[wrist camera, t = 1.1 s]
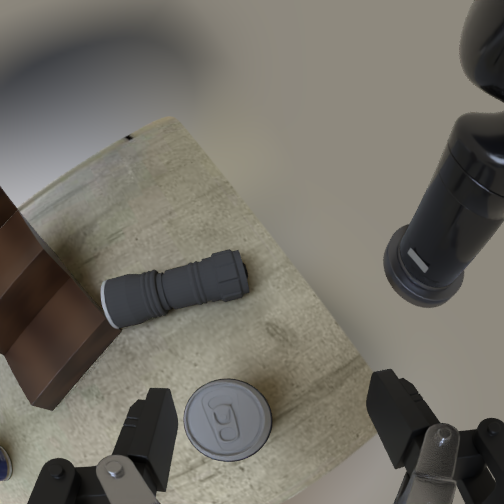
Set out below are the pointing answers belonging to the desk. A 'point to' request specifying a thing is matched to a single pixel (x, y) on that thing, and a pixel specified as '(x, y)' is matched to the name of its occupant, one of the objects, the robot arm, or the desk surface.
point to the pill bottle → (4, 465)
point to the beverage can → (227, 420)
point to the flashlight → (173, 288)
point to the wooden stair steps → (44, 314)
